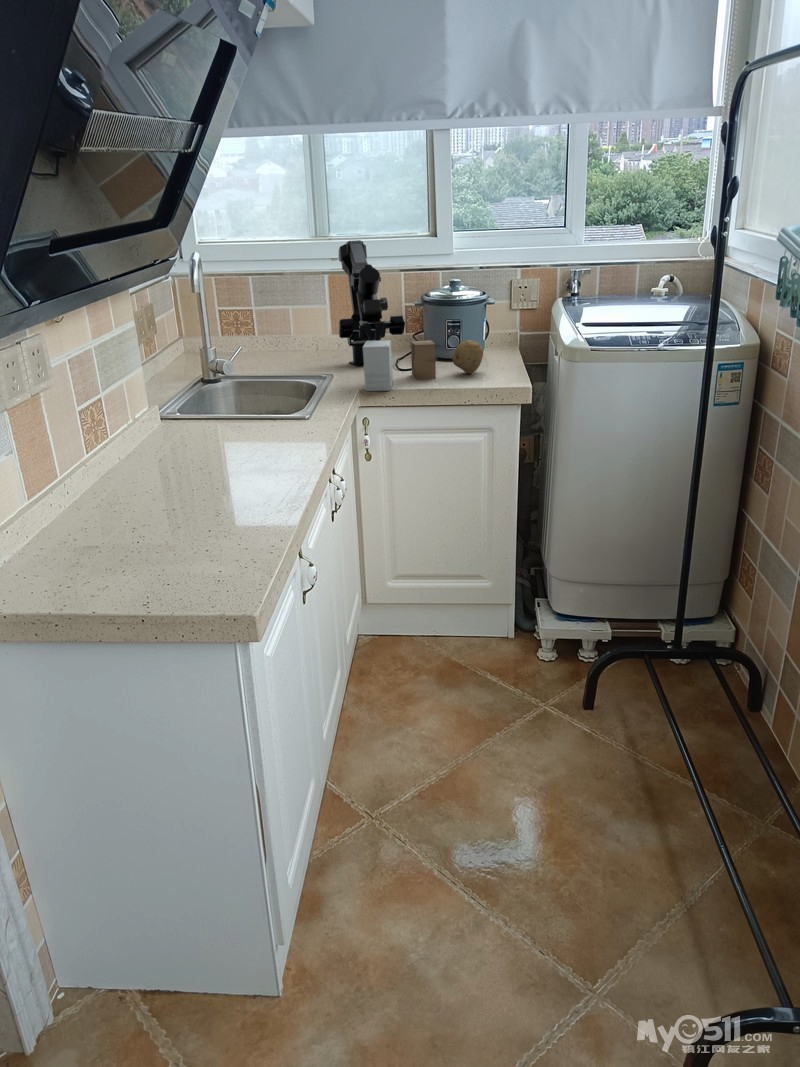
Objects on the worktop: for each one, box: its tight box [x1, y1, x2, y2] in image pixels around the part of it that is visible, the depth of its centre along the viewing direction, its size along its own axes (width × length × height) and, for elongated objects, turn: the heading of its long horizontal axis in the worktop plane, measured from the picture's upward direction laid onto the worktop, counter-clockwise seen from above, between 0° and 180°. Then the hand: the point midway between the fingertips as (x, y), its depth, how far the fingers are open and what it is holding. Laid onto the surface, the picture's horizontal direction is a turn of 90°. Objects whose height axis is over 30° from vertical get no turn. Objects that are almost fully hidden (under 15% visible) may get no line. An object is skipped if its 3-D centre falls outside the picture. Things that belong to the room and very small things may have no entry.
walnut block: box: [410, 339, 437, 381], centre depth 246 cm, size 6×6×10 cm
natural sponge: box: [452, 339, 484, 375], centre depth 248 cm, size 9×9×10 cm
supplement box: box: [363, 339, 394, 392], centre depth 233 cm, size 7×7×13 cm
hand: (375, 351), depth 235 cm, fingers closed
